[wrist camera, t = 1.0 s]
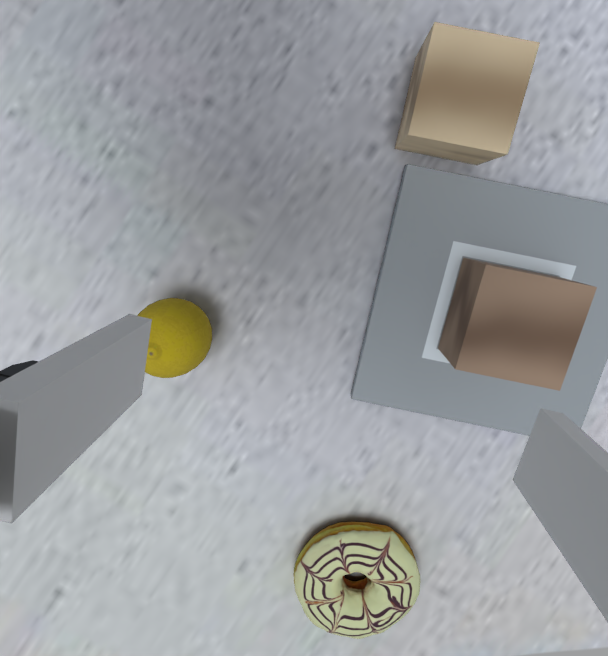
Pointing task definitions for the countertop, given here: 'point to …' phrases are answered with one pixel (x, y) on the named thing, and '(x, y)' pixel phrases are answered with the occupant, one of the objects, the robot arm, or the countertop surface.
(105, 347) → the robot arm
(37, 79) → the countertop surface
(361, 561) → the decorated donut
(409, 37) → the countertop surface
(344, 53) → the countertop surface
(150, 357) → the lemon
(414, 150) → the oak cube
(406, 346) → the grey square plate
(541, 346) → the walnut base
